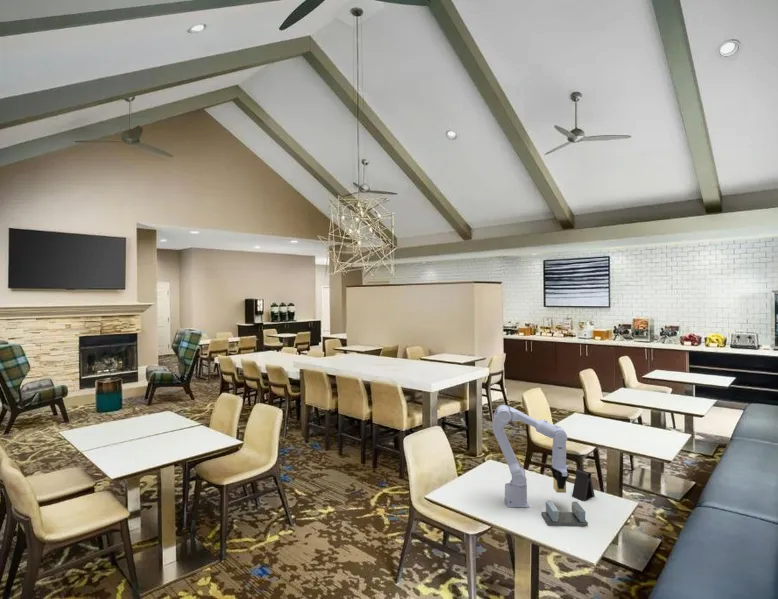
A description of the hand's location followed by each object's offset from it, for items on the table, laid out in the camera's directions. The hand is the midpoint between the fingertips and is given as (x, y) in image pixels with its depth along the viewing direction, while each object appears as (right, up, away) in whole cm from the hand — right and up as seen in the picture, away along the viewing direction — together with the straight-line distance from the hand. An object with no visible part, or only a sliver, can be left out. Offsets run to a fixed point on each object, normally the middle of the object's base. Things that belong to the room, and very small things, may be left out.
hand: (559, 486), depth 201 cm
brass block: (0, -2, 0) cm, 2 cm away
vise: (-2, -10, -12) cm, 15 cm away
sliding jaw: (-7, -8, -11) cm, 16 cm away
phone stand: (+15, -10, +11) cm, 21 cm away
